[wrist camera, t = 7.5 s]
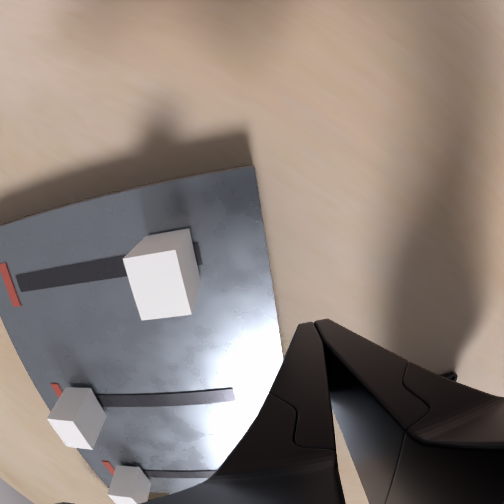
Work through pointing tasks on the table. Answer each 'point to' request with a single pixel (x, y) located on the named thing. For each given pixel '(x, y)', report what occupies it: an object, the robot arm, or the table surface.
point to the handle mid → (77, 418)
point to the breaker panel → (148, 322)
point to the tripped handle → (163, 275)
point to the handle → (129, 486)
